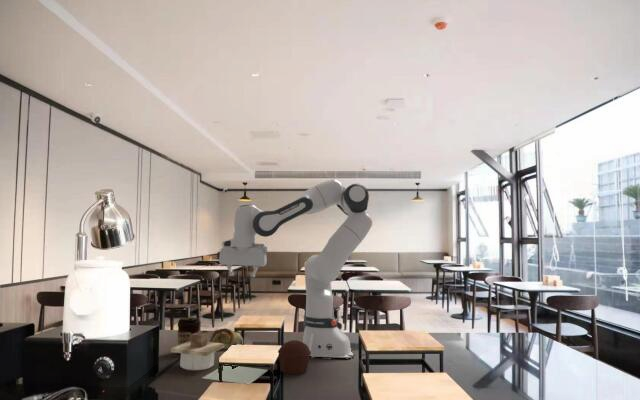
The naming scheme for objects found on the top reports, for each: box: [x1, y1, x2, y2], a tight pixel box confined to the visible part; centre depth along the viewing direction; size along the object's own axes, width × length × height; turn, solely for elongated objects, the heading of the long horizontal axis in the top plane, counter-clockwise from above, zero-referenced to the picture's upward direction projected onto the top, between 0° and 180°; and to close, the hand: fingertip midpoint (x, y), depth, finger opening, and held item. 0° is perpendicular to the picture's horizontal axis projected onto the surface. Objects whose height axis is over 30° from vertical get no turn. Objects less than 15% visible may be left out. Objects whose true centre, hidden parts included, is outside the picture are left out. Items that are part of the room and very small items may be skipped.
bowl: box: [179, 352, 216, 371], centre depth 146 cm, size 11×11×6 cm
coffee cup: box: [177, 316, 201, 355], centre depth 164 cm, size 9×8×13 cm
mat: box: [202, 365, 269, 384], centre depth 138 cm, size 16×16×1 cm
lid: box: [170, 332, 225, 356], centre depth 146 cm, size 13×13×5 cm
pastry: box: [208, 327, 244, 351], centre depth 176 cm, size 14×12×8 cm
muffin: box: [277, 339, 311, 375], centre depth 146 cm, size 12×11×10 cm
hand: (242, 276), depth 177 cm, fingers open, 8 cm apart
